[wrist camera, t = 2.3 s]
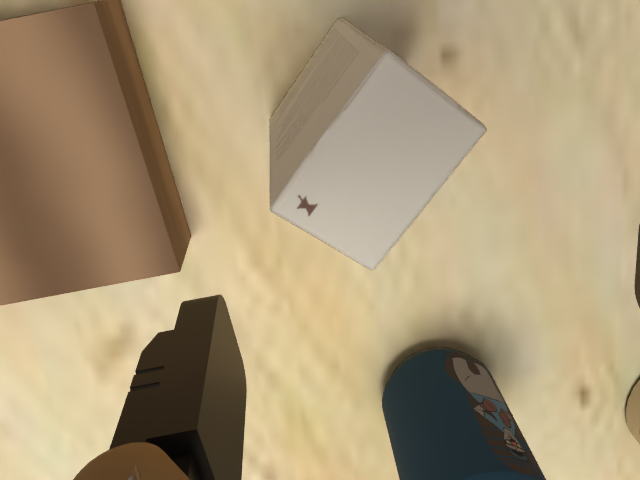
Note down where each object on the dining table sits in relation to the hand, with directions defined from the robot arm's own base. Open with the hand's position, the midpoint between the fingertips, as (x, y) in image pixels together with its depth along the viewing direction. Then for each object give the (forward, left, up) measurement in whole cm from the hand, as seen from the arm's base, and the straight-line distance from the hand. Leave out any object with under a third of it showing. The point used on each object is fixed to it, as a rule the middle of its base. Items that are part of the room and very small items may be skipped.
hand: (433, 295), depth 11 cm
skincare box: (0, 0, -19) cm, 19 cm away
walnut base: (+15, 0, -19) cm, 24 cm away
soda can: (-3, +19, -19) cm, 27 cm away
